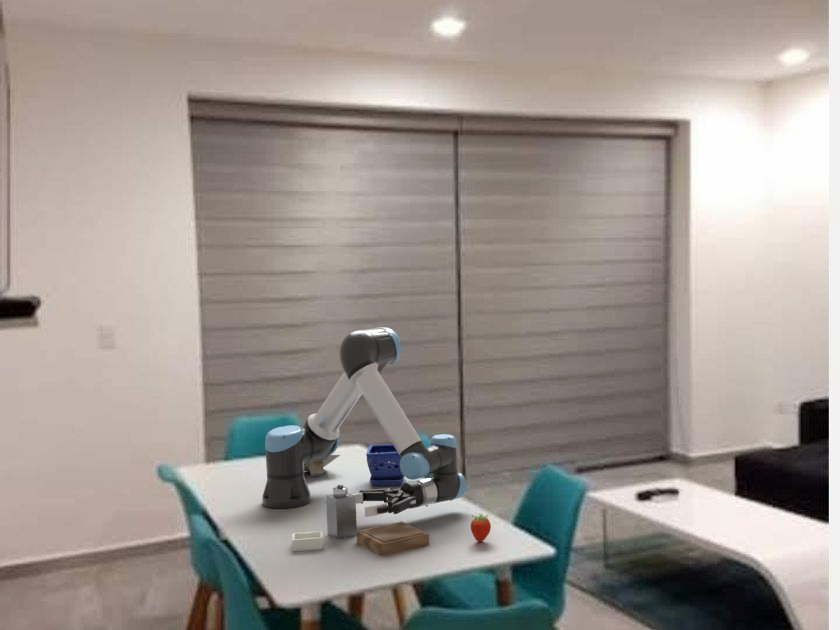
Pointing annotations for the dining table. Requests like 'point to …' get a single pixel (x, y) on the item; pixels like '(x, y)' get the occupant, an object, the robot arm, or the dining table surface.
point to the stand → (392, 538)
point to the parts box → (307, 541)
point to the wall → (319, 465)
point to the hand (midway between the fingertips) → (353, 506)
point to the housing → (341, 513)
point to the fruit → (480, 527)
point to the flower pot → (384, 465)
